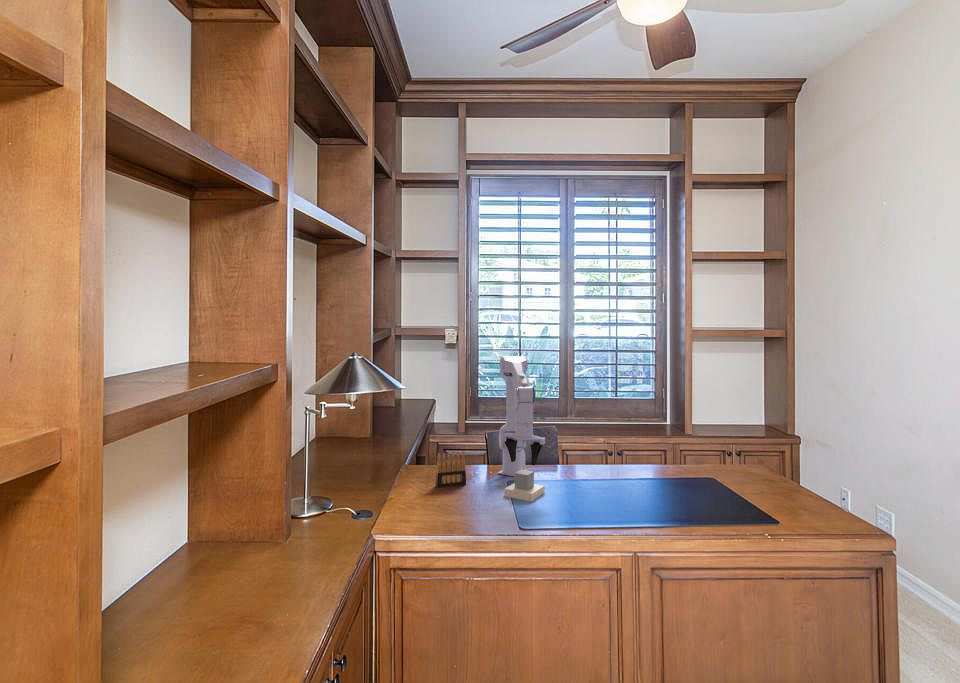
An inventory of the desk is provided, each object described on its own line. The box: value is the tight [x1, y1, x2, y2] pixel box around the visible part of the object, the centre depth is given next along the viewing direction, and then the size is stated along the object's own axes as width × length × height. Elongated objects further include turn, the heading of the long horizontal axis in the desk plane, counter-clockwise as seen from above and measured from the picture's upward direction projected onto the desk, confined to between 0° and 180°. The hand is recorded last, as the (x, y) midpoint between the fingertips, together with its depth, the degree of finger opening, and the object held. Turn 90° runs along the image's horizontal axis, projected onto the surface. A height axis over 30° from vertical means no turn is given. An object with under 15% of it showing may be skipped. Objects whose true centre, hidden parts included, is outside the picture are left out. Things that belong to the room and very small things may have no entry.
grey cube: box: [514, 469, 535, 490], centre depth 186 cm, size 5×5×5 cm
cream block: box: [503, 482, 546, 502], centre depth 186 cm, size 10×10×3 cm
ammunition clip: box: [434, 450, 467, 489], centre depth 195 cm, size 11×2×12 cm, turn 112°
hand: (523, 462), depth 187 cm, fingers open, 7 cm apart
